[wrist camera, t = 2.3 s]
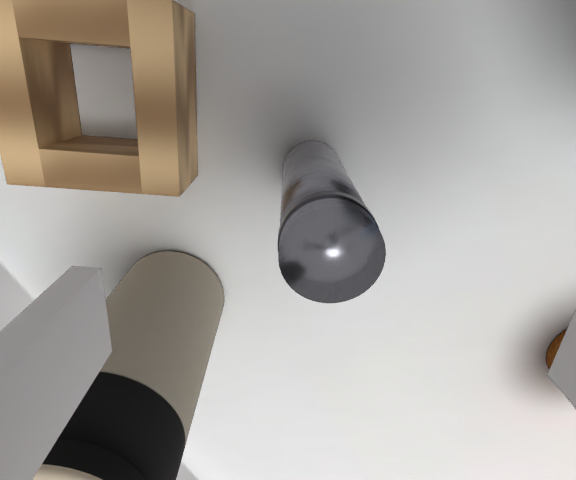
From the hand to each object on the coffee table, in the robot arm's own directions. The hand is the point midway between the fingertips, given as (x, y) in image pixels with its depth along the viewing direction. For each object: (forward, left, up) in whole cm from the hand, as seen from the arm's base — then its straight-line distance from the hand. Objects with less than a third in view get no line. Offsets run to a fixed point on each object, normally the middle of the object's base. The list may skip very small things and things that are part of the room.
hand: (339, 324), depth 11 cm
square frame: (-4, -13, -18) cm, 22 cm away
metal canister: (0, 0, -18) cm, 18 cm away
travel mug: (+11, -10, -18) cm, 23 cm away
